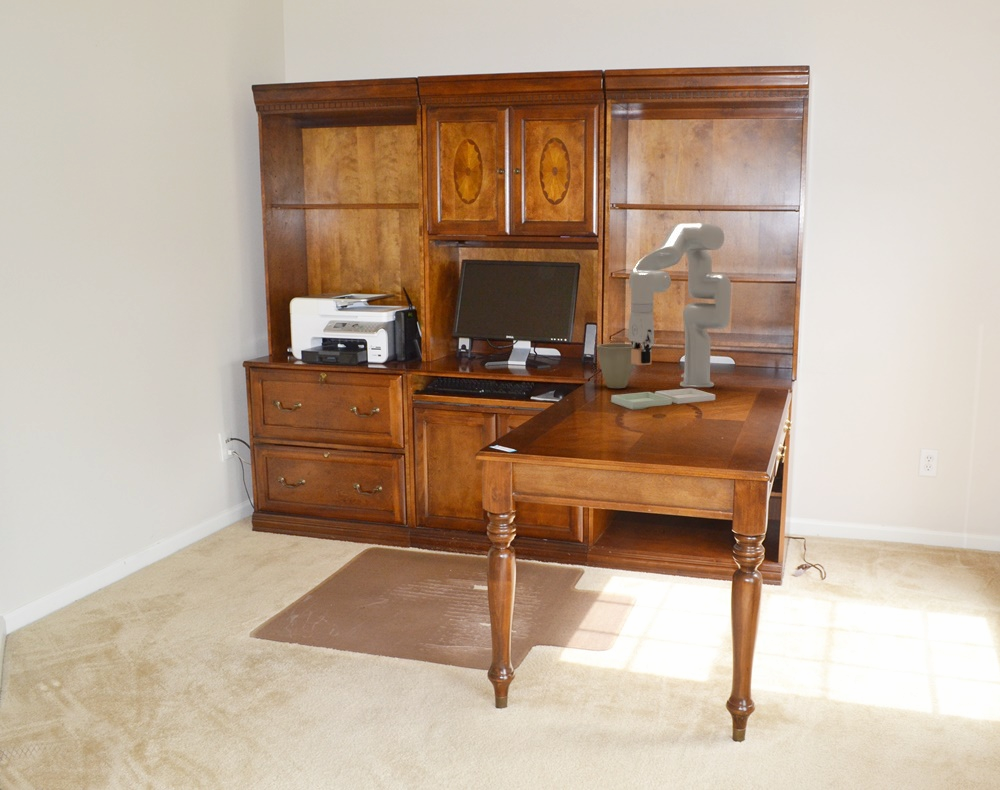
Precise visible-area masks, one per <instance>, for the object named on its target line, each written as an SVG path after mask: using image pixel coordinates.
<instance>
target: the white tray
mask: <svg viewBox="0 0 1000 790" xmlns="http://www.w3.org/2000/svg"><path fill="white" fill-rule="evenodd" d="M654 394H657V395H661V396H664V397H667V398H671V399H672V403H674V404H678V405H679V404H681V405H682V404H689V403H701V402H702V403H703V402H711V401H716V394H715V393H714V394H713V393H712V392H706V391H703V390H699V389H696V388H694V387H686V388H679V389H676V388H675V389H668V390H666V389H665V390H656V391H655V392H654Z"/></svg>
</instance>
